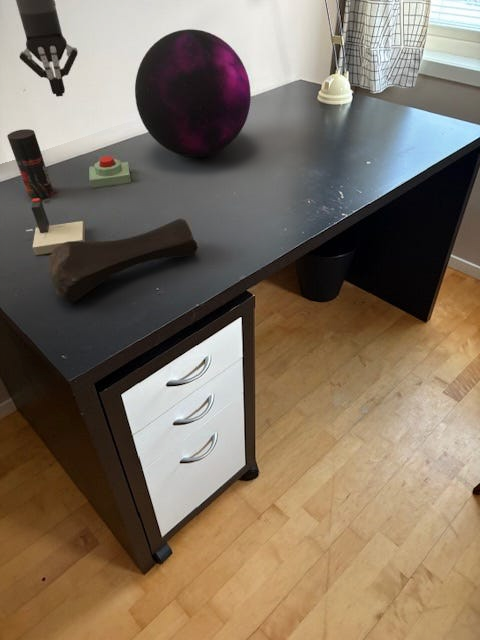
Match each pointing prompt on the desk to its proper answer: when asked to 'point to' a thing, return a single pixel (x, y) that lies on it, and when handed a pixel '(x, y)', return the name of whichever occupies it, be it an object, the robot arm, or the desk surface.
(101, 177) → the box
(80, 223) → the cream flat slab
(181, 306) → the desk surface
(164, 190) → the desk surface
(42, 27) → the robot arm
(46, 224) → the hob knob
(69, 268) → the dark brown bone
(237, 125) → the mottled black-purple ball
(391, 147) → the desk surface
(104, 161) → the red push button
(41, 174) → the deodorant
